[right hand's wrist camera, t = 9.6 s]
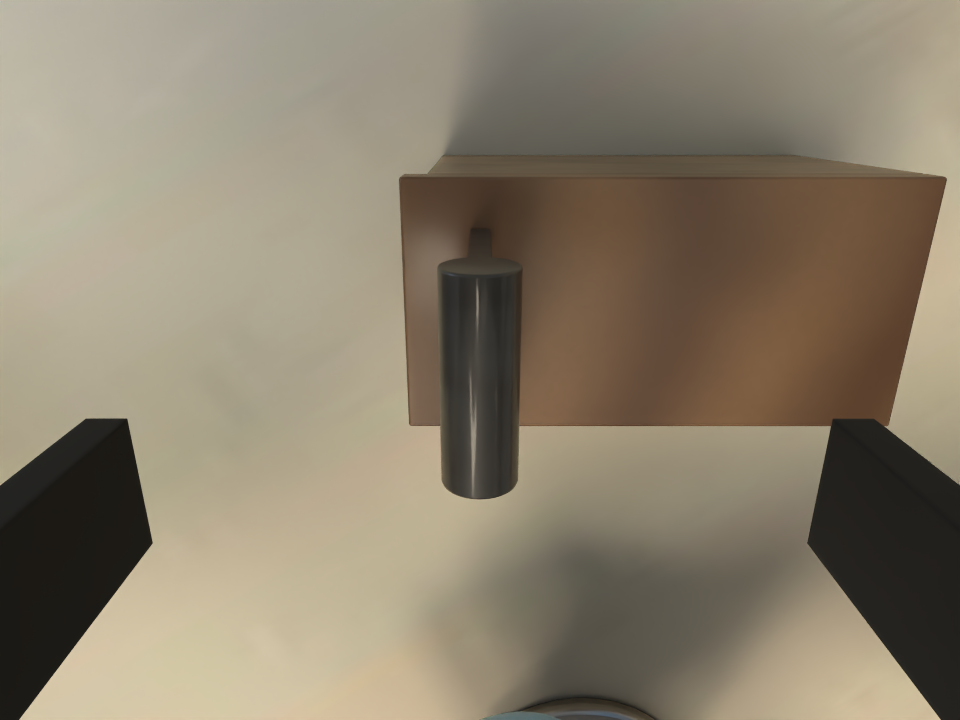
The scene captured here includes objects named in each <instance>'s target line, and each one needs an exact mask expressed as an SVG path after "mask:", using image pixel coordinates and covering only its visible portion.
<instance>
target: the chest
mask: <svg viewBox="0 0 960 720" xmlns="http://www.w3.org/2000/svg"><path fill="white" fill-rule="evenodd" d="M428 174H922V173H915V172H908V171H901V170H894V169H887V168H880V167H873V166H866V165H859V164H852V163H844V162H837V161H830V160H823V159H816V158H809V157H802V156H796V155H443V156H442V158H441V159H440V160H439V161H438V162H437V164H436V165H435V166H434V167H433V168H432V169H431V171H430V172H429V173H428Z"/></svg>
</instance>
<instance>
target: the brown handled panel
mask: <svg viewBox="0 0 960 720" xmlns="http://www.w3.org/2000/svg"><path fill="white" fill-rule="evenodd" d="M946 181H947V178H946V177H943V176H936V175H929V174H404V175H402V176H401V177H400V179H399V189H400V213H401V237H402V262H403V286H404V310H405V334H406V358H407V383H408V407H409V424H410V425H411V426H440V430H441V473H442V482H443V484H444V486H445V487H446V489H447V490H449V491H450V492H452V493H453V494H455V495H458V496H461V497H464V498H470V499H490V498H495V497H499V496H502V495H504V494H506V493H508V492H510V491H511V490H512V489H513V488H514V487H515V485H516V484H517V481H518V456H519V426H831V425H832V420H833V419H875V420H876V421H878V422H879V423H880V424H881V425H883V426H888V425H889V421H890V417H891V412H892V408H893V404H894V400H895V395H896V391H897V387H898V383H899V379H900V374H901V370H902V366H903V362H904V358H905V353H906V349H907V345H908V341H909V337H910V332H911V328H912V324H913V320H914V316H915V311H916V307H917V303H918V299H919V294H920V290H921V286H922V282H923V278H924V273H925V269H926V265H927V261H928V257H929V252H930V248H931V244H932V240H933V236H934V231H935V227H936V223H937V219H938V215H939V210H940V206H941V202H942V198H943V194H944V189H945V185H946Z"/></svg>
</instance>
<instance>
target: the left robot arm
mask: <svg viewBox="0 0 960 720" xmlns="http://www.w3.org/2000/svg"><path fill="white" fill-rule="evenodd" d="M480 720H654V719H653V718H652V717H650V716H648V715H647V714H645V713H643V712H641V711H639V710H637V709H635V708H632V707H630V706H627V705H624V704H620V703H617V702H613V701H607V700H601V699H591V698H573V699H563V700H556V701H551V702H547V703H543V704H539V705H536V706H533V707H530V708H528V709H525V710H523V711H519V712H508V713H501V714H497V715H493V716H490V717H486V718H483V719H480Z"/></svg>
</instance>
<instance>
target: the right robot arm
mask: <svg viewBox="0 0 960 720" xmlns="http://www.w3.org/2000/svg"><path fill="white" fill-rule="evenodd" d="M152 543H153V542H152V538H151V533H150V528H149V523H148V518H147V513H146V508H145V503H144V498H143V494H142V489H141V484H140V479H139V474H138V469H137V464H136V459H135V454H134V450H133V445H132V440H131V435H130V430H129V425H128V420H127V419H85V420H84V421H82V422H81V423H80V424H79V425H77V426H76V427H75V428H73V429H72V430H71V431H70V432H68V433H67V434H66V435H64V436H63V437H62V438H61V439H59V440H58V441H57V442H55V443H54V444H53V445H52V446H50V447H49V448H48V449H46V450H45V451H44V452H43V453H41V454H40V455H39V456H38V457H36V458H35V459H34V460H32V461H31V462H30V463H29V464H27V465H26V466H25V467H23V468H22V469H21V470H20V471H18V472H17V473H16V474H14V475H13V476H12V477H11V478H9V479H8V480H7V481H6V482H4V483H3V484H2V485H0V720H19V719H20V718H21V716H22V715H23V714H24V712H25V711H26V710H27V709H28V707H29V706H30V705H31V703H32V702H33V701H34V699H35V698H36V697H37V695H38V694H39V693H40V691H41V690H42V689H43V687H44V686H45V685H46V683H47V682H48V681H49V679H50V678H51V677H52V676H53V674H54V673H55V672H56V670H57V669H58V668H59V666H60V665H61V664H62V662H63V661H64V660H65V658H66V657H67V656H68V654H69V653H70V652H71V650H72V649H73V648H74V646H75V645H76V644H77V642H78V641H79V640H80V639H81V637H82V636H83V635H84V633H85V632H86V631H87V629H88V628H89V627H90V625H91V624H92V623H93V621H94V620H95V619H96V617H97V616H98V615H99V613H100V612H101V611H102V609H103V608H104V607H105V606H106V604H107V603H108V602H109V600H110V599H111V598H112V596H113V595H114V594H115V592H116V591H117V590H118V588H119V587H120V586H121V584H122V583H123V582H124V580H125V579H126V578H127V576H128V575H129V574H130V572H131V571H132V570H133V569H134V567H135V566H136V565H137V563H138V562H139V561H140V559H141V558H142V557H143V555H144V554H145V553H146V551H147V550H148V549H149V547H150V546H151V545H152ZM807 543H808V545H809V546H810V547H811V549H812V550H813V551H814V553H815V554H816V555H817V557H818V558H819V559H820V561H821V562H822V563H823V565H824V566H825V567H826V569H827V570H828V571H829V572H830V574H831V575H832V576H833V578H834V579H835V580H836V582H837V583H838V584H839V586H840V587H841V588H842V590H843V591H844V592H845V594H846V595H847V596H848V598H849V599H850V600H851V602H852V603H853V604H854V606H855V607H856V608H857V609H858V611H859V612H860V613H861V615H862V616H863V617H864V619H865V620H866V621H867V623H868V624H869V625H870V627H871V628H872V629H873V631H874V632H875V633H876V635H877V636H878V637H879V639H880V640H881V641H882V642H883V644H884V645H885V646H886V648H887V649H888V650H889V652H890V653H891V654H892V656H893V657H894V658H895V660H896V661H897V662H898V664H899V665H900V666H901V668H902V669H903V670H904V672H905V673H906V674H907V676H908V677H909V678H910V679H911V681H912V682H913V683H914V685H915V686H916V687H917V689H918V690H919V691H920V693H921V694H922V695H923V697H924V698H925V699H926V701H927V702H928V703H929V705H930V706H931V707H932V709H933V710H934V711H935V712H936V714H937V715H938V716H939V718H940V719H941V720H960V485H958V484H957V483H956V482H954V481H953V480H952V479H951V478H949V477H948V476H947V475H946V474H944V473H943V472H942V471H940V470H939V469H938V468H937V467H935V466H934V465H933V464H931V463H930V462H929V461H928V460H926V459H925V458H924V457H922V456H921V455H920V454H919V453H917V452H916V451H915V450H914V449H912V448H911V447H910V446H908V445H907V444H906V443H905V442H903V441H902V440H901V439H899V438H898V437H897V436H896V435H894V434H893V433H892V432H890V431H889V430H888V429H887V428H885V427H884V426H883V425H881V424H880V423H879V422H878V421H876V420H875V419H833V420H832V425H831V430H830V435H829V440H828V445H827V450H826V454H825V459H824V464H823V469H822V474H821V479H820V484H819V489H818V494H817V498H816V503H815V508H814V513H813V518H812V523H811V528H810V533H809V538H808V542H807Z"/></svg>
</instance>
